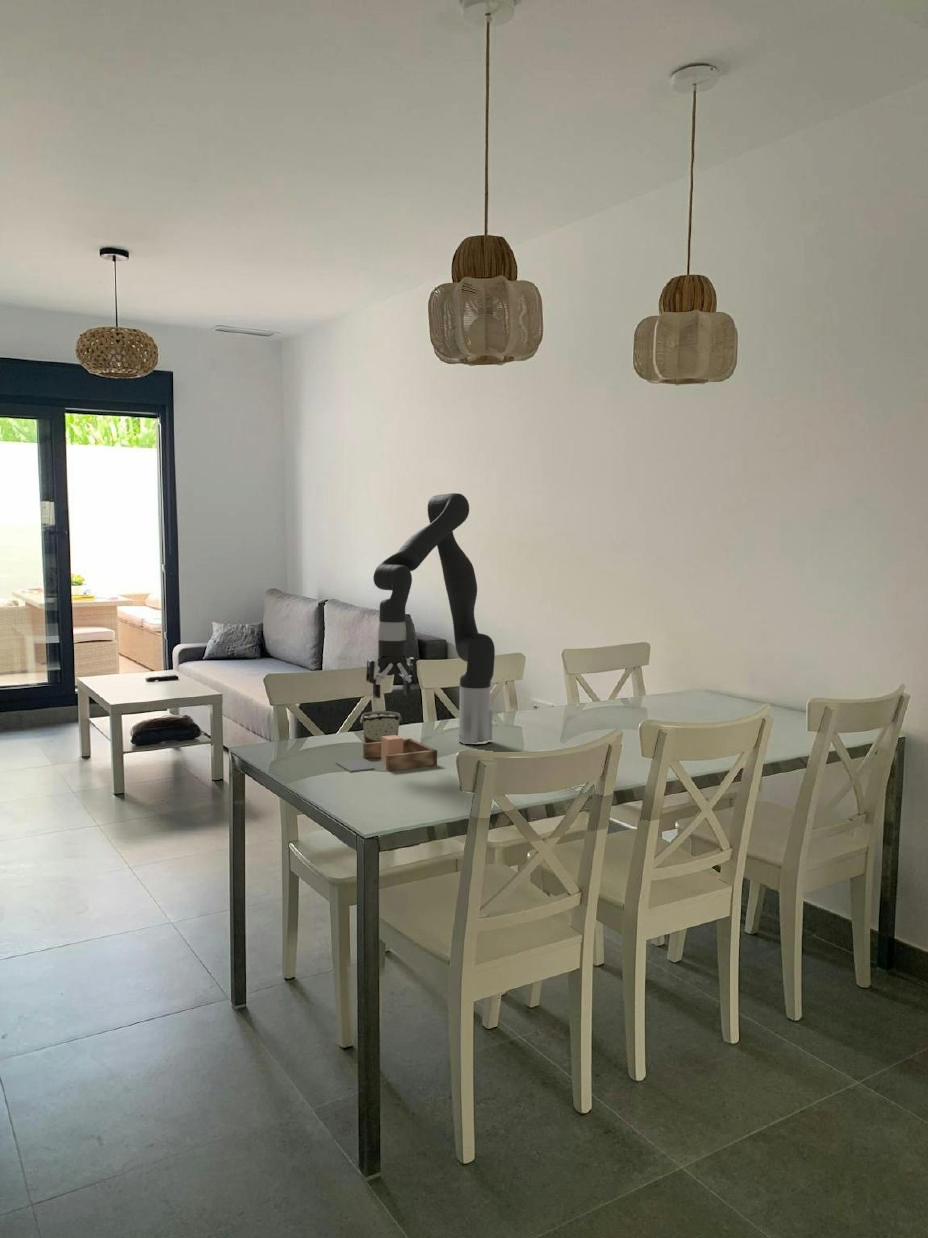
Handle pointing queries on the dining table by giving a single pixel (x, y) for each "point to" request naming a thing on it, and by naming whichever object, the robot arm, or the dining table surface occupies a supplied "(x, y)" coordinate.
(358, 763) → the grey mat
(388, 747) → the terracotta block
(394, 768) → the open box
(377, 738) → the food container
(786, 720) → the dining table surface
